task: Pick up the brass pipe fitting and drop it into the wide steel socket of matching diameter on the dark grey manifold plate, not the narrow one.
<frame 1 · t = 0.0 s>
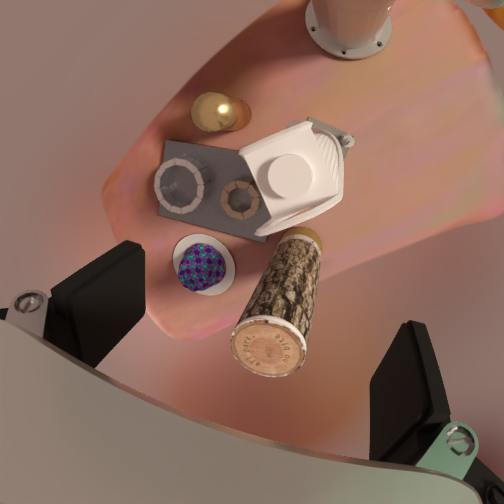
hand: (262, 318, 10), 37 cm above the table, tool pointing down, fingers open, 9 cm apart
pudding: (204, 263, 55), on the table
skyscraper: (317, 150, 42), on the table
manifold: (217, 187, 48), on the table
paper tube: (301, 245, 48), on the table
fitting: (235, 114, 43), on the table
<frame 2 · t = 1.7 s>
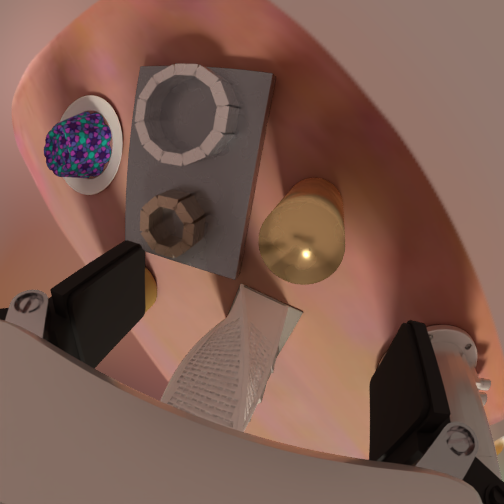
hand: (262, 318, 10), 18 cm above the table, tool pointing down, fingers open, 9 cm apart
pudding: (90, 144, 31), on the table
skyscraper: (256, 313, 33), on the table
manifold: (191, 166, 28), on the table
paper tube: (137, 281, 35), on the table
fitting: (314, 205, 26), on the table
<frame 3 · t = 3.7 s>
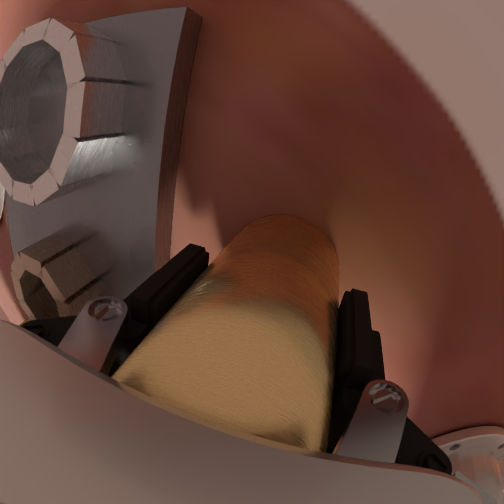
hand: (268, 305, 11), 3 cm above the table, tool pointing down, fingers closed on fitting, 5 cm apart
manifold: (77, 195, 15), on the table
fitting: (282, 269, 13), on the table, touching gripper
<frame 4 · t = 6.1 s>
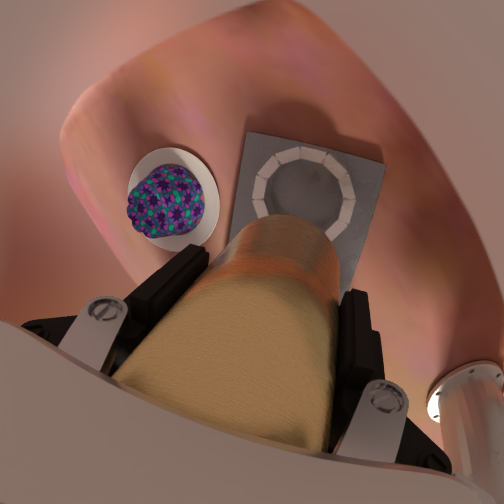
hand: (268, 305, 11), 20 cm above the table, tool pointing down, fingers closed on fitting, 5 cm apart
pudding: (173, 199, 34), on the table
manifold: (296, 237, 31), on the table
fitting: (282, 269, 13), point 17 cm above the table, touching gripper
when the fingers open (6 cm above the table, at t = 8.7 s): fitting drops 1 cm, resting on manifold.
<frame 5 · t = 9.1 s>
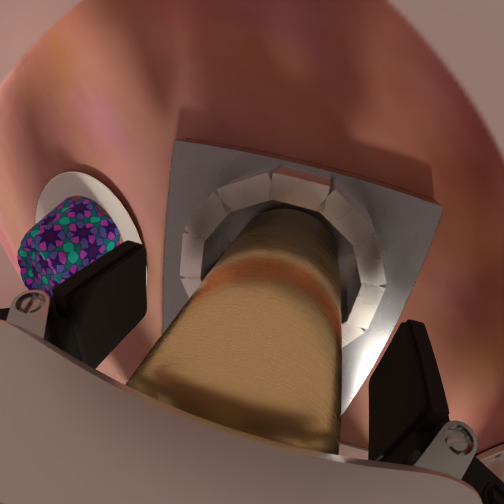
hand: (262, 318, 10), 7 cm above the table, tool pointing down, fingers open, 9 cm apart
pudding: (89, 247, 21), on the table
skyscraper: (332, 453, 23), on the table
manifold: (272, 321, 18), on the table
fitting: (285, 259, 15), point 2 cm above the table, touching manifold
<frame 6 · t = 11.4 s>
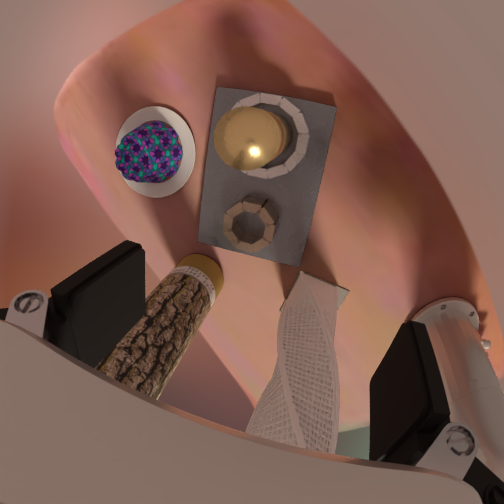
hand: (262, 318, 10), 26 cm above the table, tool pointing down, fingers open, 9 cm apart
pudding: (155, 151, 36), on the table
skyscraper: (310, 294, 40), on the table
manifold: (263, 176, 34), on the table
paper tube: (202, 273, 42), on the table
fitting: (267, 134, 31), point 2 cm above the table, touching manifold
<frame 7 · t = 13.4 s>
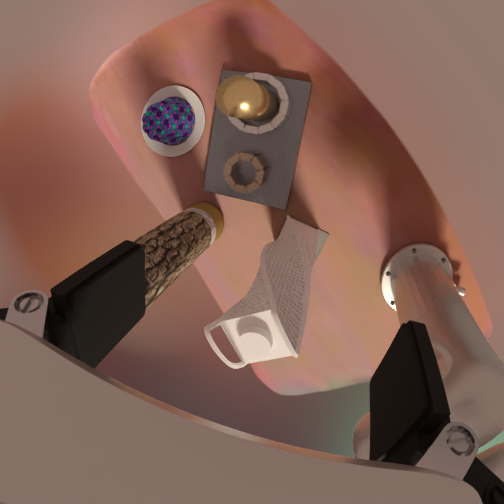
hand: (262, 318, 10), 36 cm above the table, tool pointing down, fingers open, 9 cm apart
pudding: (173, 120, 45), on the table
skyscraper: (296, 237, 48), on the table
manifold: (256, 137, 43), on the table
paper tube: (206, 220, 50), on the table
fitting: (259, 104, 39), point 2 cm above the table, touching manifold
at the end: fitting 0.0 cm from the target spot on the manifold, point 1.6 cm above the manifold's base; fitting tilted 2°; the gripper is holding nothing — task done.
